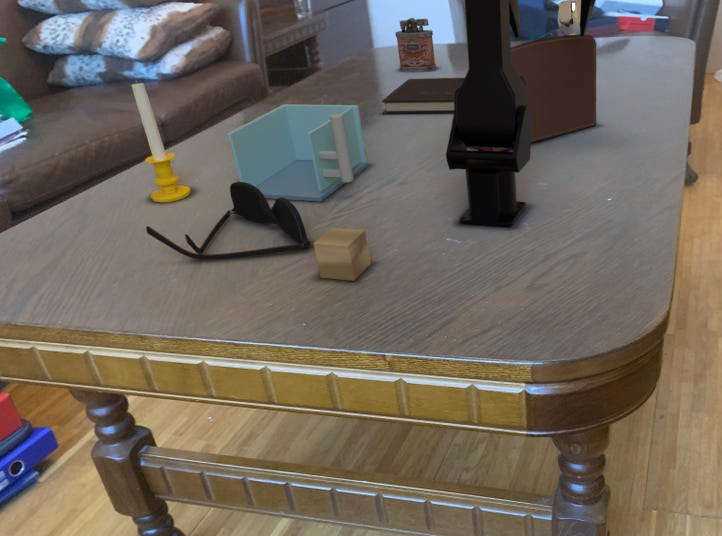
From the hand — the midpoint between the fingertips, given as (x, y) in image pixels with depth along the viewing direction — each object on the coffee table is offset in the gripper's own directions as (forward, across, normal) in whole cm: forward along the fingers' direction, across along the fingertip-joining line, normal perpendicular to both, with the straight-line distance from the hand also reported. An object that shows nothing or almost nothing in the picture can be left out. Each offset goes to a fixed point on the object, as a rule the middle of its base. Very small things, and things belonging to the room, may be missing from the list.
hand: (550, 36), depth 105 cm
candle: (+15, +47, +28) cm, 57 cm away
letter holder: (+15, +5, -4) cm, 16 cm away
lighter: (+15, +41, -46) cm, 63 cm away
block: (+15, +11, +45) cm, 49 cm away
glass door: (+14, +22, +21) cm, 33 cm away
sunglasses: (+15, +28, +42) cm, 53 cm away
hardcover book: (+15, +23, -22) cm, 35 cm away
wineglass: (+15, +8, -48) cm, 51 cm away
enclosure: (+15, +30, +20) cm, 39 cm away
